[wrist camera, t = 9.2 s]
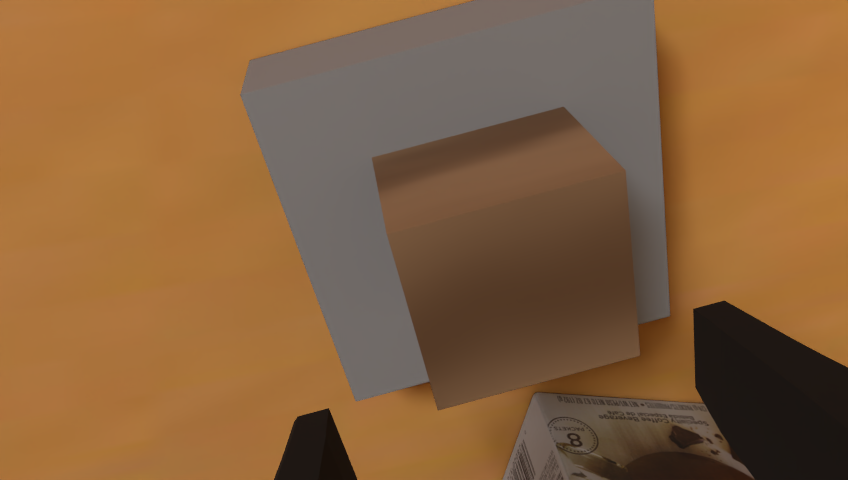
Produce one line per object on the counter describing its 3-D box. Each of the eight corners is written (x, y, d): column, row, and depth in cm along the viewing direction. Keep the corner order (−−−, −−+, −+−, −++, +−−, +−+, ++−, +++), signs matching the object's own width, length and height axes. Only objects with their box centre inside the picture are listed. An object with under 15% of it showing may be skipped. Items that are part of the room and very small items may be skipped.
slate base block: (351, 341, 24) (356, 401, 21) (250, 60, 19) (240, 94, 16) (631, 265, 24) (670, 315, 21) (606, -35, 19) (652, -16, 16)
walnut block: (371, 157, 17) (386, 234, 14) (563, 106, 18) (625, 170, 14) (415, 313, 20) (437, 410, 17) (583, 268, 20) (640, 356, 17)
